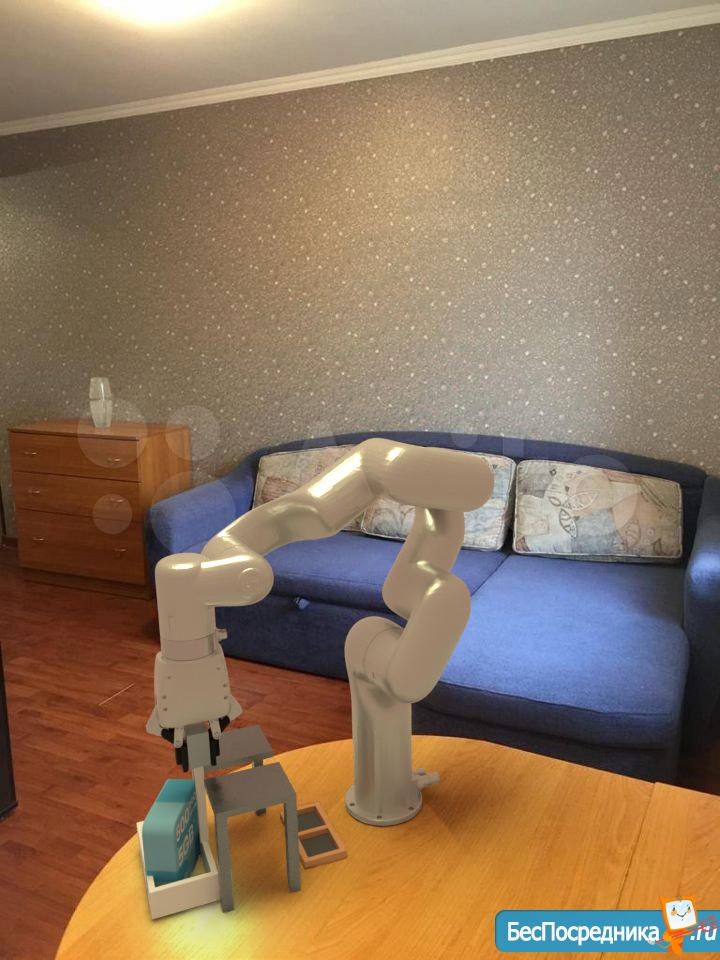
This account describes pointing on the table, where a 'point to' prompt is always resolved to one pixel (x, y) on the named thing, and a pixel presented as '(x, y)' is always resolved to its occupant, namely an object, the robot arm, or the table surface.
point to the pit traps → (316, 837)
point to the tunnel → (249, 800)
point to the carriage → (206, 884)
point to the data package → (172, 833)
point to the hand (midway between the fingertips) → (198, 763)
